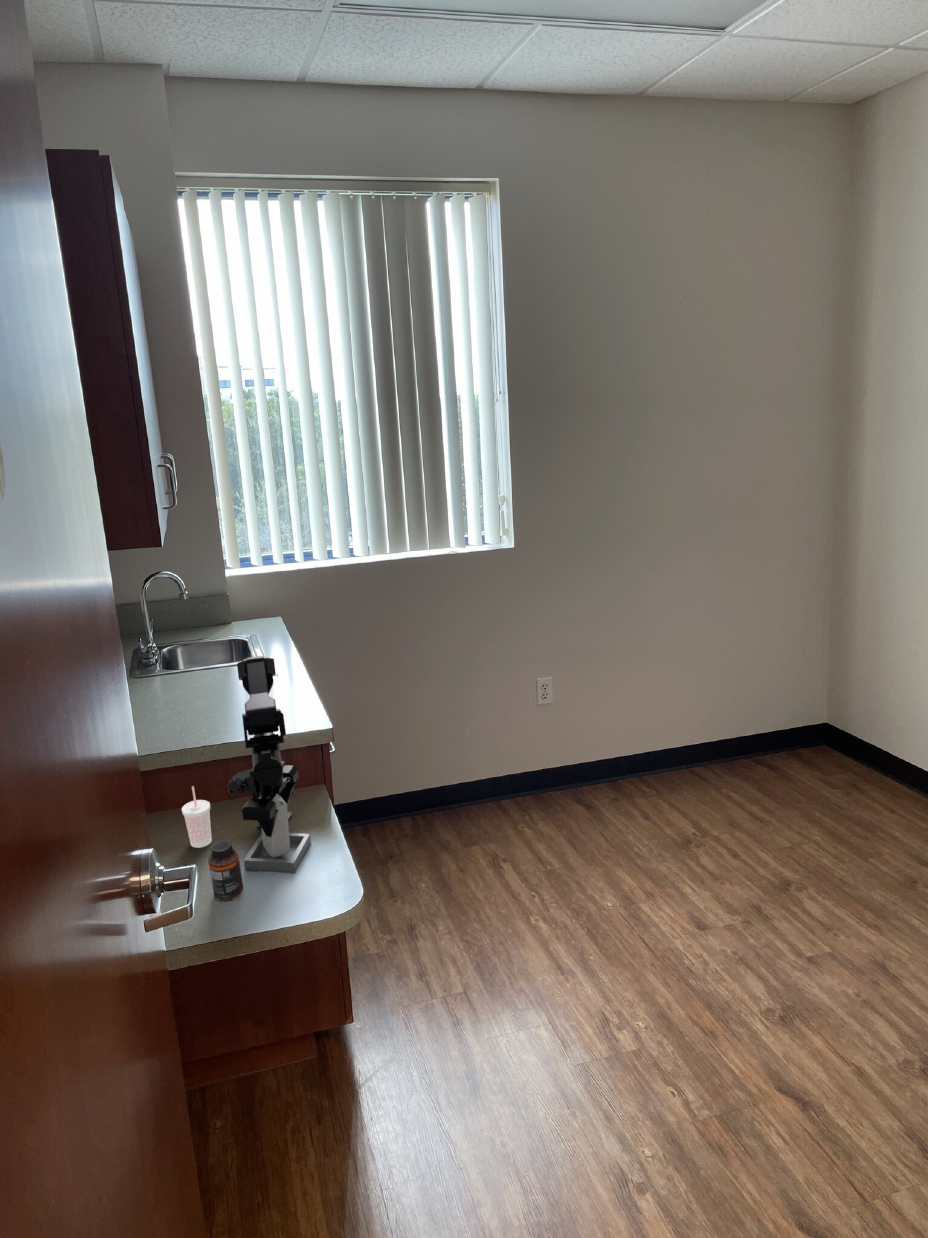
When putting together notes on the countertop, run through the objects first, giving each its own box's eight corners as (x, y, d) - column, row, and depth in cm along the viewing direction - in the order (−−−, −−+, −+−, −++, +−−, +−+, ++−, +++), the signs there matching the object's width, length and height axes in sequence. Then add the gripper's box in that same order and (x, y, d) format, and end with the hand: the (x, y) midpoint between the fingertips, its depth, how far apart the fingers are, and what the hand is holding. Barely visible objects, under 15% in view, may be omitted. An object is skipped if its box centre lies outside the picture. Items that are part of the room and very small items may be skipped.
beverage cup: (210, 831, 196) (202, 777, 191) (218, 843, 191) (210, 788, 186) (183, 840, 192) (175, 785, 188) (191, 852, 188) (182, 796, 183)
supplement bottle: (232, 880, 177) (225, 833, 174) (249, 891, 174) (243, 843, 170) (207, 895, 173) (200, 847, 169) (225, 906, 169) (218, 857, 166)
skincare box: (262, 846, 185) (256, 797, 182) (281, 839, 188) (275, 790, 184) (273, 859, 181) (266, 809, 177) (292, 852, 183) (287, 802, 179)
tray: (263, 841, 191) (262, 831, 190) (311, 843, 189) (310, 834, 188) (245, 870, 180) (243, 860, 180) (295, 873, 179) (293, 863, 178)
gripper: (247, 740, 187) (255, 802, 192) (212, 782, 170) (221, 850, 175) (295, 742, 186) (302, 804, 191) (265, 784, 168) (273, 852, 173)
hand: (275, 826), depth 182 cm, fingers closed on skincare box, 7 cm apart
